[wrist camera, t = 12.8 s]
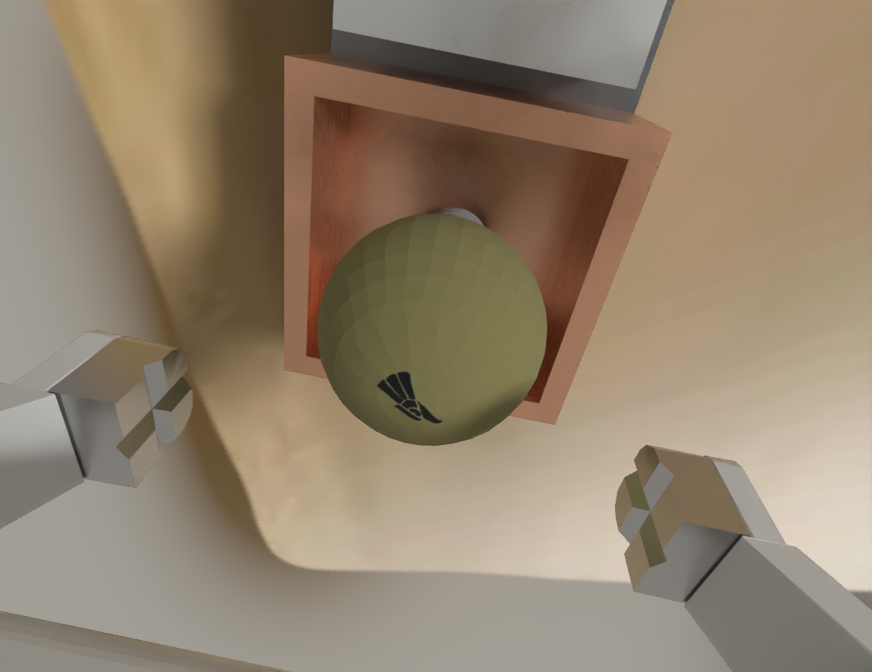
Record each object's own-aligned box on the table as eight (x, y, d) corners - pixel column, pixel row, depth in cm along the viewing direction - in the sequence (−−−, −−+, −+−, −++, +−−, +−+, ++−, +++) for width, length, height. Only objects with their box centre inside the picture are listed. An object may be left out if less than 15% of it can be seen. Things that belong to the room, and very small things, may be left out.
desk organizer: (375, -519, 11) (251, -1096, 5) (809, -434, 11) (1133, -928, 5) (326, 349, 24) (273, 442, 18) (526, 389, 24) (535, 496, 18)
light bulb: (357, 257, 19) (244, 430, 10) (423, 124, 16) (342, 213, 8) (478, 323, 20) (465, 531, 11) (560, 208, 17) (623, 369, 9)
